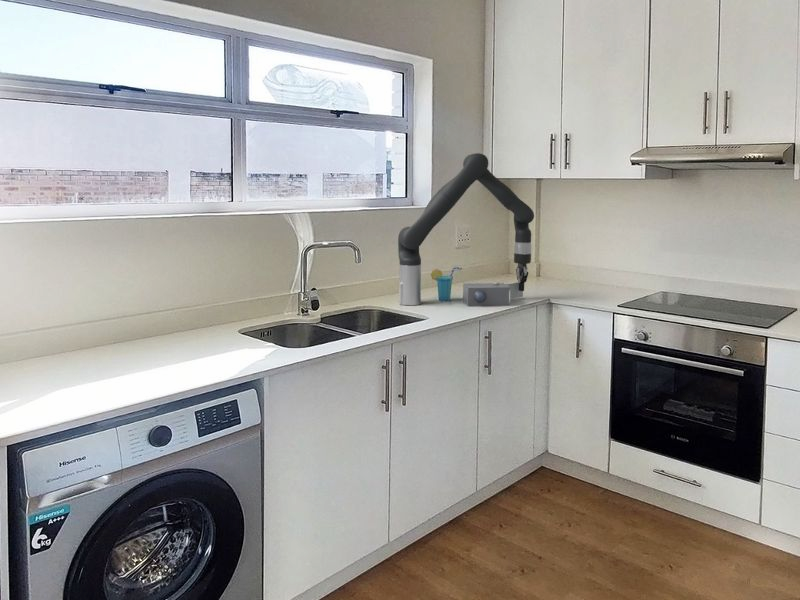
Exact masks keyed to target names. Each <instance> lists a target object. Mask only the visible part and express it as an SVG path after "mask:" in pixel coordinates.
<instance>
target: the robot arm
mask: <svg viewBox="0 0 800 600" xmlns="http://www.w3.org/2000/svg"><path fill="white" fill-rule="evenodd" d="M462 162H463V163H462V169H461V170H460V171H459V172H458V173H457V175H455V176H454V177H453V178H451V180H449V181H448V182H447V183H446V184H444V185H443V186H442V187H441V188H440V189H439V190H438V191H437V192H435V194H434V195H433V196H432V197H431V199H430V200H429V202H428V204H427V205H426V206H425V209H424V211H423V212H422V214H421V215H420V216H419V218H418V219H417V220H416V221H415V222H414V223H413V224H412V225H411V226H405V227H403V228H402V229H400V231H399V233H398V239H397V247H398V250H397V251H398V253H397V254H398V259H399V282H398V303H399V305H402V306H418V305H421V304H422V296H421V295H422V292H421V291H422V288H421V287H422V285H421V284H422V258H421V255H420V246H421V245H422V244H423V242H424V241H425V240H426V239H427V236H428V235H429V234H430V232H431V231H432V230H433V229H434V228H435V227H436V226H437V224H439V222H441V221H442V219H444V217H445V216H446V215H448V213H449V212H450V211H452V208H454V206H456V204H457V203H458V201H459V200H460V199H462V197H463V196H464V194H465V193H466V192H467V191H468V189H469V188H470V187H471V186H472V185H473V184H474V183H475V182H476V181H478V182H479V183H480V184H482V185H483V187H485V188H486V189H487V190H488V191H489V192H490V193H491V195H493V196H494V197H495V198H496V200H497V201H499V203H500V204H501V205H502V206H503V207H504V208H505V209H506V210H508V211H510V212H511V213H512V214H513V224H514V226H513V227H514V231H515V236H514V246H513V247H514V248H513V263H514V264H517V267H516V268H515V274H516V280H517V281H518V282H519V291H523V292H524V291H525V284H526V283H527V281H528V276H529V271H528V267H527V265H528V264H531V263H532V231H531V229H530V228H529V227H530V223H532V222H533V220H534V218H535V212H534V211H533V208H531V207H530V205H528V204H526V202H524V201H523V200H521V199H520V198H519V197H518V195H516V193H515V192H514V191H513V190H512V189H511V188H510V187H509V186H507V185H506V183H504V182H502V181H501V180H500V179H499V178H498V177H496V176H495V175H494V173H492V172H491V171H490V170H489V168H488V167H489V159H488V156H487V155H485V154H483V153H479V152H477V153H471V154H468V155H467V156H466V157H465V158H464V160H463V161H462Z"/></svg>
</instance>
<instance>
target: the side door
mask: <svg viewBox="0 0 800 600" xmlns="http://www.w3.org/2000/svg"><path fill="white" fill-rule="evenodd" d="M505 284H506V285H507V286H509V287H510V300H513V299H518V298H523V297H524V291H519V282H509V283H505Z"/></svg>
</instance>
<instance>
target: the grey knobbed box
mask: <svg viewBox="0 0 800 600" xmlns="http://www.w3.org/2000/svg"><path fill="white" fill-rule="evenodd" d="M506 284H507V283H504V282H498V281H494V282H483V283H482V282H480V283H479V282H475V283H473V282H472V283H471V282H469V283H468V282H467V283H462V302H463V303H464V304H465V305H466V306H467V307H493V306H494V307H503V306H504V307H505V306H507V307H508V306H510V303H511V299H510V287H509V286H507V285H506Z"/></svg>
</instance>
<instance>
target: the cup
mask: <svg viewBox="0 0 800 600" xmlns="http://www.w3.org/2000/svg"><path fill="white" fill-rule="evenodd" d="M455 270H462V267H459V266H454V267H452V270H451V272H450V275H443V273H442V271H441V270H440V269H437V268H436V269H435V268H434V269H433V270H432V271H431V273H430V277H431V278H432V280H435V281H436V282H437V284H436V285H437V295H438V296H437V297H438V302H450V301H451V294H452V284H453V280H454V276H453V275H454V271H455Z"/></svg>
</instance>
